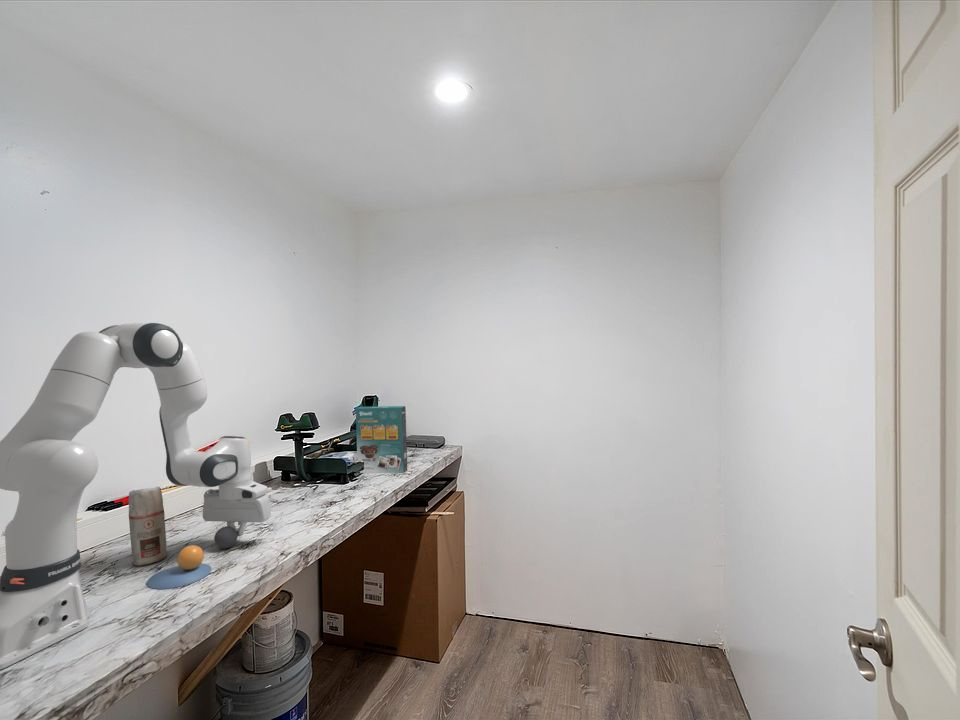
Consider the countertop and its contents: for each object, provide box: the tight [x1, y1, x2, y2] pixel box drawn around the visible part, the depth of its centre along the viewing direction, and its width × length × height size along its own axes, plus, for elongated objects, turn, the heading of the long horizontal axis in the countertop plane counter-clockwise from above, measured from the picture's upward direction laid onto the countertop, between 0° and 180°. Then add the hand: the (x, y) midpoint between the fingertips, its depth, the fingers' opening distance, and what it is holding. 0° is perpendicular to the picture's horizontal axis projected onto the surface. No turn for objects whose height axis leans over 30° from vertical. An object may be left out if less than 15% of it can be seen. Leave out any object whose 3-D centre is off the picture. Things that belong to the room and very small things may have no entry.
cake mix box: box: [355, 405, 408, 474], centre depth 229 cm, size 22×6×30 cm, turn 82°
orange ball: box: [176, 544, 205, 570], centre depth 129 cm, size 6×6×6 cm
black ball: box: [213, 525, 239, 549], centre depth 143 cm, size 6×6×6 cm
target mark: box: [146, 562, 212, 590], centre depth 125 cm, size 14×14×1 cm
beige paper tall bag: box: [128, 486, 168, 566], centre depth 135 cm, size 8×8×20 cm
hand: (237, 535), depth 148 cm, fingers closed
